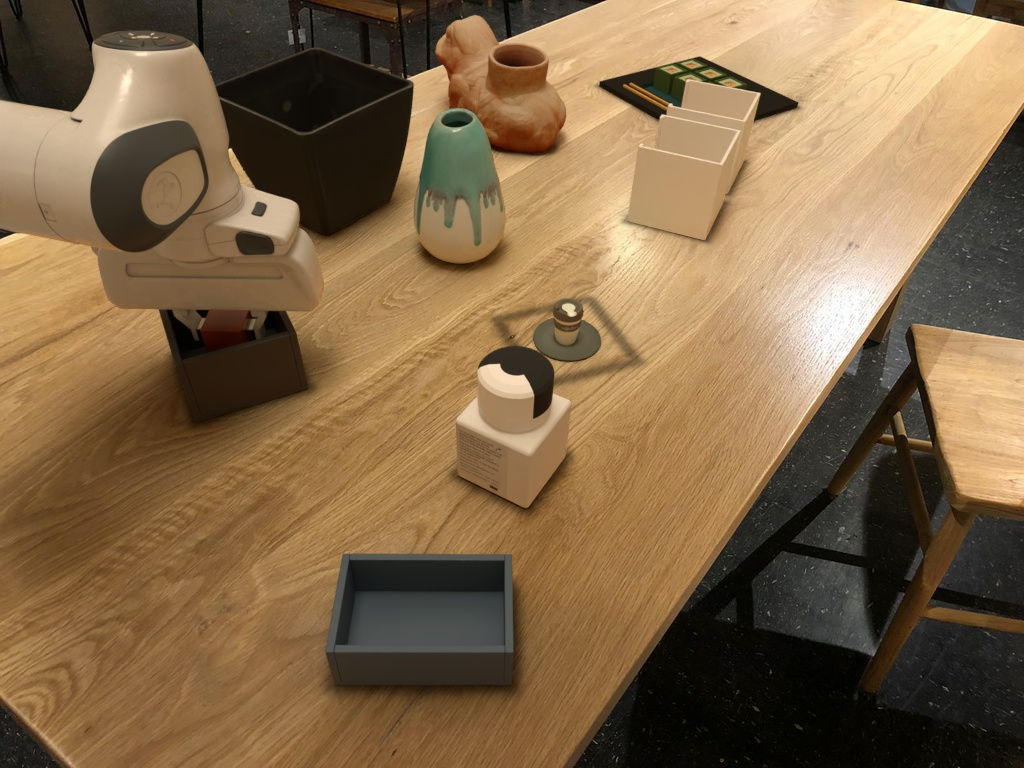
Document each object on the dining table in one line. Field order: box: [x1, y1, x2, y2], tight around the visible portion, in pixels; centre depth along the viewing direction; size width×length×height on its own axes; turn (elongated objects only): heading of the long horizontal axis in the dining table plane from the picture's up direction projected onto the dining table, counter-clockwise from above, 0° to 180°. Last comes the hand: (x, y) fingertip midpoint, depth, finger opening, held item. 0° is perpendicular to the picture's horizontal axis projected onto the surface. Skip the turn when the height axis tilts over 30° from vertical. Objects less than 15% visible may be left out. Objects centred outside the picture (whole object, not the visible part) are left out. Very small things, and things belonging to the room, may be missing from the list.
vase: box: [413, 108, 507, 265], centre depth 94 cm, size 12×12×18 cm
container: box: [455, 345, 572, 509], centre depth 68 cm, size 8×8×13 cm
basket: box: [158, 309, 309, 423], centre depth 79 cm, size 11×11×8 cm
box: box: [325, 553, 515, 686], centre depth 58 cm, size 13×8×5 cm, turn 91°
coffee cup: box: [532, 297, 602, 362], centre depth 85 cm, size 12×12×5 cm
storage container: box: [626, 79, 761, 241], centre depth 109 cm, size 25×11×11 cm, turn 156°
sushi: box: [598, 55, 799, 122], centre depth 136 cm, size 25×25×4 cm
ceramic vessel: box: [434, 14, 567, 155], centre depth 122 cm, size 14×26×15 cm, turn 40°
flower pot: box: [215, 47, 415, 236], centre depth 101 cm, size 19×19×17 cm
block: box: [200, 310, 253, 353], centre depth 78 cm, size 4×4×4 cm
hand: (231, 337), depth 78 cm, fingers closed on block, 4 cm apart
